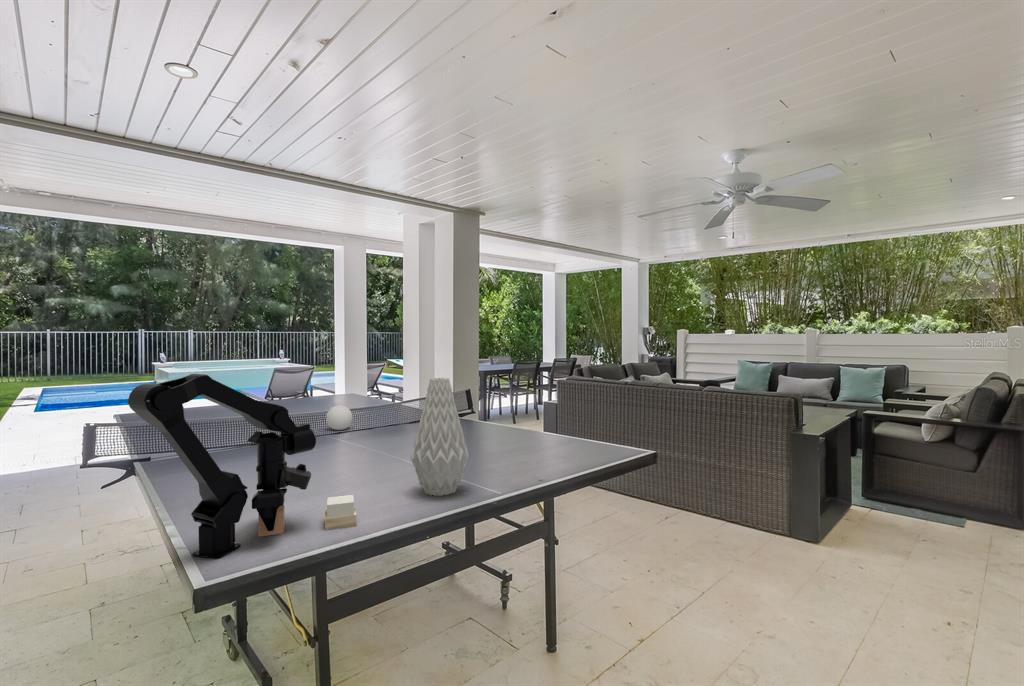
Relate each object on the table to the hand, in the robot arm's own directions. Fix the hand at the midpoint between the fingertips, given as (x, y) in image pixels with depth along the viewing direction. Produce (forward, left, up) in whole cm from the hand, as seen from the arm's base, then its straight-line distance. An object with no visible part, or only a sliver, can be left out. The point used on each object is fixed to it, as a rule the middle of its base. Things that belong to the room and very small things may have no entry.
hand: (271, 526), depth 117 cm
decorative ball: (+122, +54, -1) cm, 133 cm away
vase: (+36, -28, -1) cm, 46 cm away
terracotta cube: (0, 0, -1) cm, 1 cm away
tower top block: (+8, -13, +2) cm, 15 cm away
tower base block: (+8, -13, -2) cm, 15 cm away
